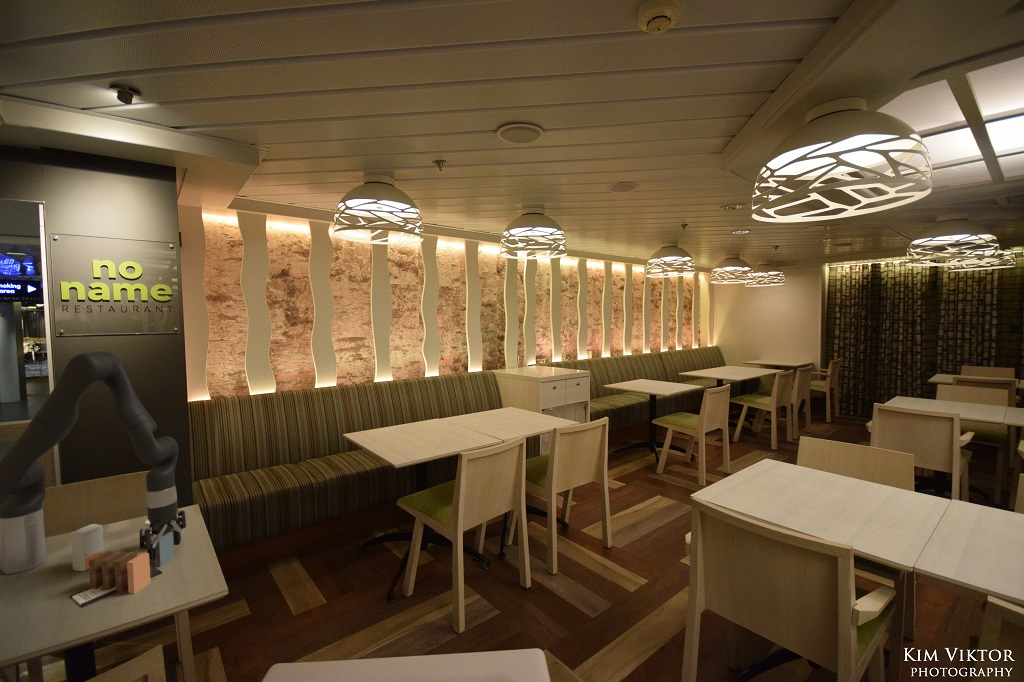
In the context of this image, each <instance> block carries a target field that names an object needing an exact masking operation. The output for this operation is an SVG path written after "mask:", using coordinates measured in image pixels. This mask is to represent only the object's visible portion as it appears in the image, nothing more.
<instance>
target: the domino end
mask: <svg viewBox="0 0 1024 682" xmlns="http://www.w3.org/2000/svg"><path fill="white" fill-rule="evenodd" d="M150 565H151V564H150V559H149V553H147V552H142V553H141V554H139V555H137V557H135V558H134V559H132V560H130V561H129V562H127V573H128V589H127V590H128V594H130V595H131V594H136V593H139V592H140V591H141V590H142V589H144V588H146V587H147V586H149V585H150V584H151V583H152V582H151V578H150Z"/></svg>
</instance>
